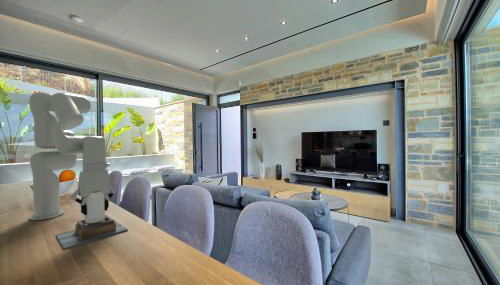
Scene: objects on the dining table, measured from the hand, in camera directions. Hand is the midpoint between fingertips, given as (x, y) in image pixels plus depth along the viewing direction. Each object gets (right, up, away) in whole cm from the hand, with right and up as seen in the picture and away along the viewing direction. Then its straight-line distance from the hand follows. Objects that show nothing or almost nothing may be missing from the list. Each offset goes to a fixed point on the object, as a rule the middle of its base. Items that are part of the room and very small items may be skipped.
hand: (95, 211), depth 87 cm
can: (0, -4, 0) cm, 4 cm away
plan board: (0, -8, 0) cm, 8 cm away
